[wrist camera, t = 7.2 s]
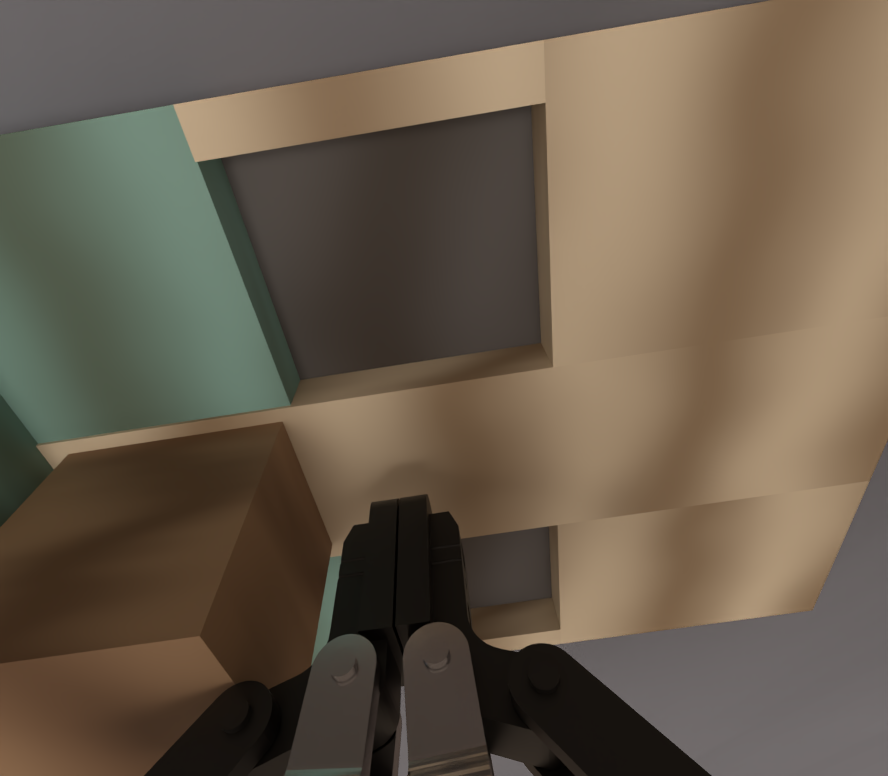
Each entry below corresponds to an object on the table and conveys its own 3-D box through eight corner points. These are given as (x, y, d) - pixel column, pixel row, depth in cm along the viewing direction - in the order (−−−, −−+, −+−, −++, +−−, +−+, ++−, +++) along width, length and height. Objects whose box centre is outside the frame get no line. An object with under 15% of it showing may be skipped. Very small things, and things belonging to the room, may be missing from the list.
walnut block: (282, 421, 13) (199, 636, 8) (332, 544, 16) (293, 763, 11) (68, 454, 13) (-145, 683, 8) (153, 570, 16) (31, 797, 11)
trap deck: (993, -36, 10) (1336, -105, 6) (780, 567, 21) (861, 675, 17) (-131, 160, 11) (-417, 201, 7) (215, 644, 22) (174, 763, 18)
